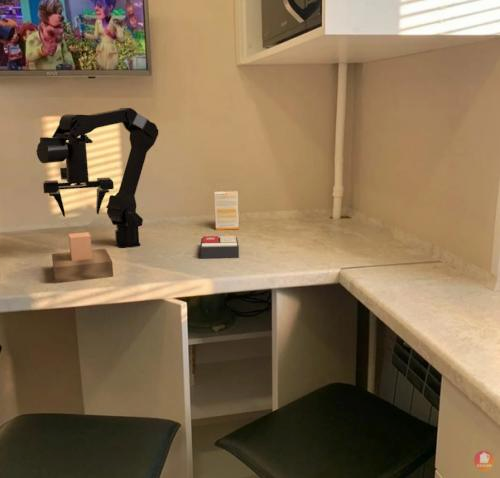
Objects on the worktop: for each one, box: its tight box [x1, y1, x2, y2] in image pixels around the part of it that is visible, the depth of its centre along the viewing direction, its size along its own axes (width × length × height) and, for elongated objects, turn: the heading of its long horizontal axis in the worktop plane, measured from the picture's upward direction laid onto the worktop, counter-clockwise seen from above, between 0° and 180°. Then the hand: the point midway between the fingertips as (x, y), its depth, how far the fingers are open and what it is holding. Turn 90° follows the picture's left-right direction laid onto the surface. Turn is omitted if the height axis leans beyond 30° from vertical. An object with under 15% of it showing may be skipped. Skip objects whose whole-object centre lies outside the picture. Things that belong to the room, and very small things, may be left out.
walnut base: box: [51, 248, 114, 284], centre depth 144 cm, size 14×14×4 cm
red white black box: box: [199, 235, 240, 260], centre depth 163 cm, size 11×4×15 cm
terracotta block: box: [68, 231, 93, 261], centre depth 143 cm, size 5×5×6 cm
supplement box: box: [213, 190, 240, 231], centre depth 193 cm, size 8×5×13 cm, turn 93°
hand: (81, 215), depth 158 cm, fingers open, 9 cm apart
